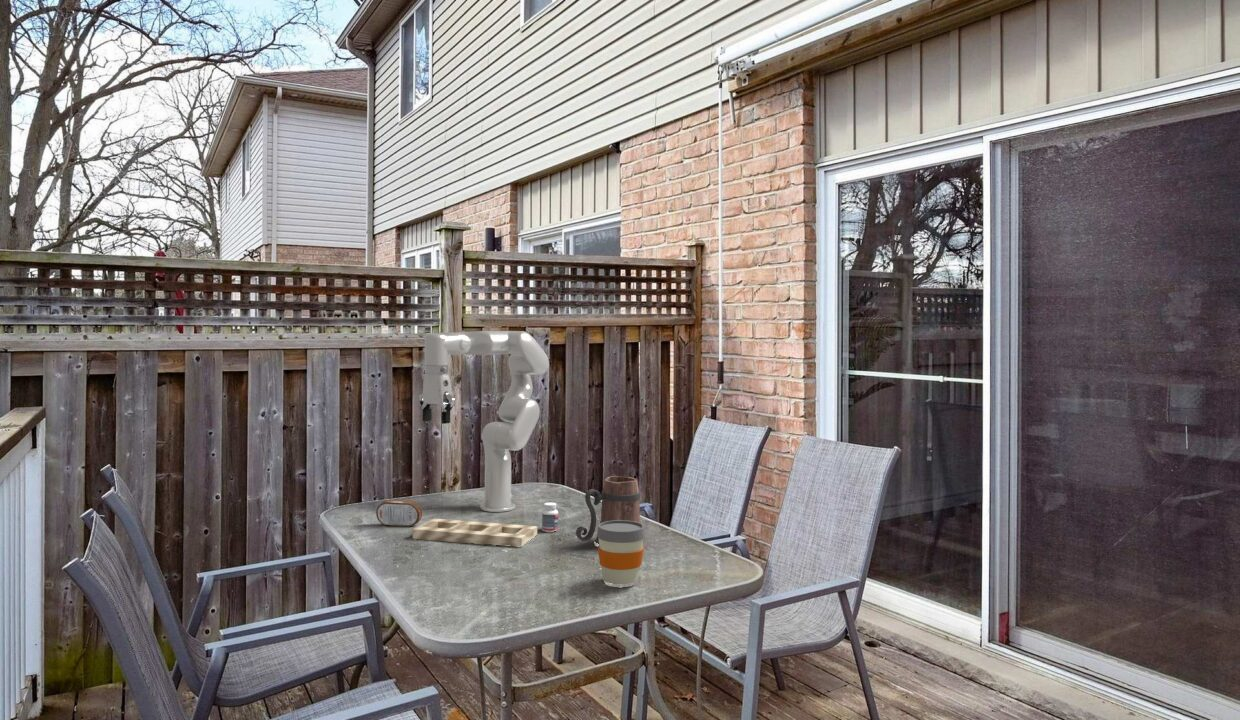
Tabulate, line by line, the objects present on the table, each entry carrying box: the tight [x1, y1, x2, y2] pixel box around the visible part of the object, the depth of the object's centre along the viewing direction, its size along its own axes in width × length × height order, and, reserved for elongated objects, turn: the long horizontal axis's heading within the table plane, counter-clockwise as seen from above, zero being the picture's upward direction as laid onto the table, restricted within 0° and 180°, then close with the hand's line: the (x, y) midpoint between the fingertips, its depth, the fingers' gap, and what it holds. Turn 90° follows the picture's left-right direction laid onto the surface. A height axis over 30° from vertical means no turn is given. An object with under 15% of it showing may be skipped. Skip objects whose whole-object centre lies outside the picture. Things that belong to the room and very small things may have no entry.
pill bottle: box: [541, 502, 559, 533], centre depth 256 cm, size 5×5×9 cm
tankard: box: [575, 475, 645, 544], centre depth 241 cm, size 24×17×20 cm
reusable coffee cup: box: [596, 520, 646, 584], centre depth 206 cm, size 13×13×15 cm
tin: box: [375, 499, 423, 527], centre depth 260 cm, size 15×3×8 cm, turn 84°
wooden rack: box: [412, 517, 538, 547], centre depth 247 cm, size 36×14×3 cm, turn 77°
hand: (436, 422), depth 261 cm, fingers open, 9 cm apart
